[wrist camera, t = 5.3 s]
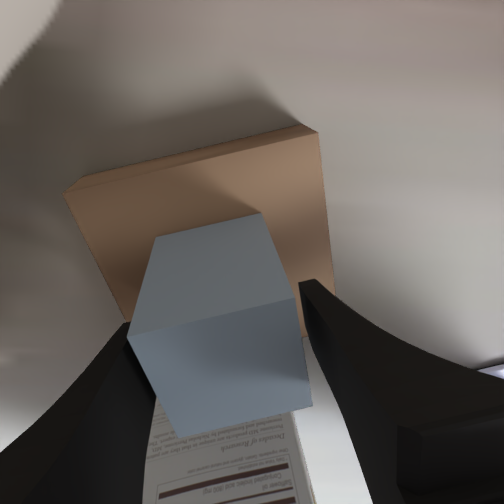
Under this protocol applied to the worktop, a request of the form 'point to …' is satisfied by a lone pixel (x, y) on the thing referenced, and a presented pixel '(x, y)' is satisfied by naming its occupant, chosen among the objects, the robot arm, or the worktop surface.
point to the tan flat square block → (209, 206)
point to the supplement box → (227, 464)
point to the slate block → (219, 328)
